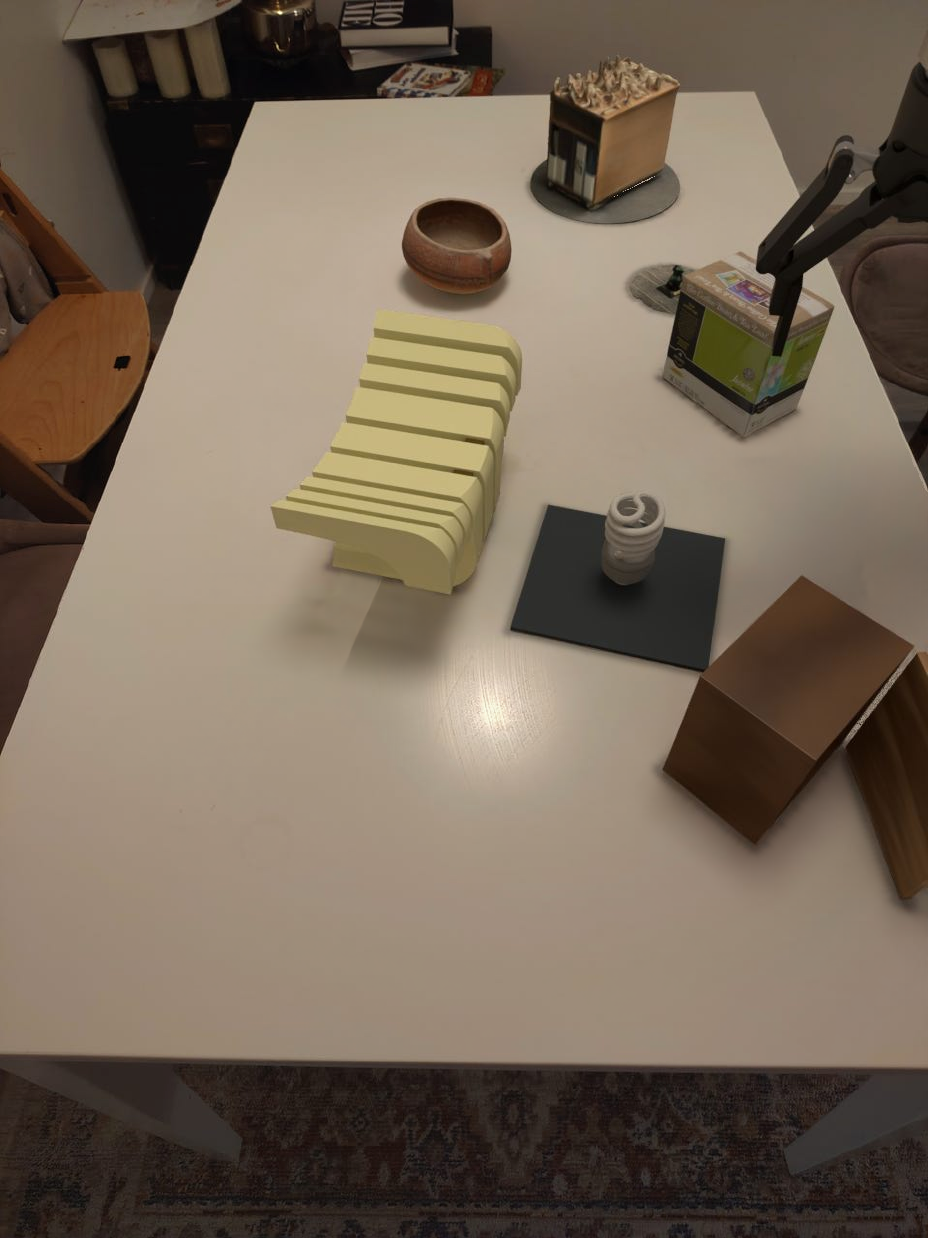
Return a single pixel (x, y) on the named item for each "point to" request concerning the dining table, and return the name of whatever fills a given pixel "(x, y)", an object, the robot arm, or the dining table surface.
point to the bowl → (457, 245)
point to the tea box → (741, 344)
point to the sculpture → (660, 286)
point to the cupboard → (780, 705)
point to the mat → (622, 593)
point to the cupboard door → (898, 774)
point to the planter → (609, 145)
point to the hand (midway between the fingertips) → (864, 355)
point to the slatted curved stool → (415, 453)
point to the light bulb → (632, 536)
